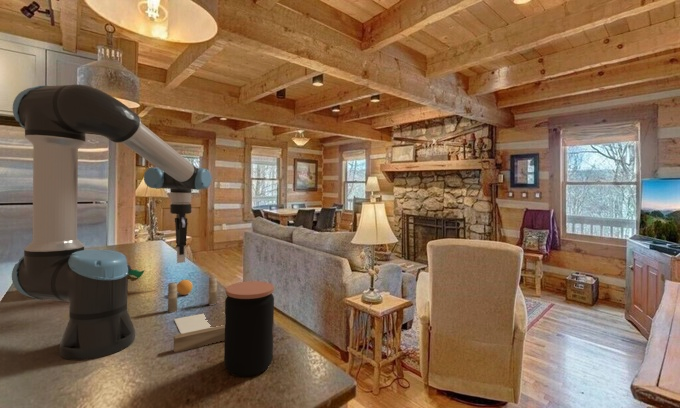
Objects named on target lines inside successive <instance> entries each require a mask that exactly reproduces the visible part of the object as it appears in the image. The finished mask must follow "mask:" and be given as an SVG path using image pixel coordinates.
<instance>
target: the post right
mask: <svg viewBox="0 0 680 408" xmlns="http://www.w3.org/2000/svg"><path fill="white" fill-rule="evenodd" d="M208 281H209V282H208V305H209V304H215V303H217V304H218V277H216V276H215V277H210V278H209V279H208Z"/></svg>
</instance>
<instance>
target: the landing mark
mask: <svg viewBox="0 0 680 408" xmlns="http://www.w3.org/2000/svg"><path fill="white" fill-rule="evenodd" d="M205 319H206V317H205V315H204V313H199V314H194V315H189V316H184V317H178V318H173V320H174V322H175V325H176V327H177V328H178V331H179V334H183V333H188V332H192V331H197V330H202V329H207V328H212V327H210V326H211V325H210V324H209V323H208V322H207V321H208V320H205Z"/></svg>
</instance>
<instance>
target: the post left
mask: <svg viewBox="0 0 680 408" xmlns="http://www.w3.org/2000/svg"><path fill="white" fill-rule="evenodd" d="M167 284H168V286H167V290H168V291H167V293H168V294H167V295H168V296H167V304H168V305H167V313H175V311H176V312H177V311H178V292H177V284H178V282H169V283H167Z"/></svg>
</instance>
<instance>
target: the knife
mask: <svg viewBox="0 0 680 408" xmlns="http://www.w3.org/2000/svg"><path fill="white" fill-rule="evenodd" d="M127 267H128V276H134V277H135V278H137V279H139V278H141V277H142V275H143V274H144V272H145V270H141V271H140V270H138V269H132V267H131V265H130V264H127Z"/></svg>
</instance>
